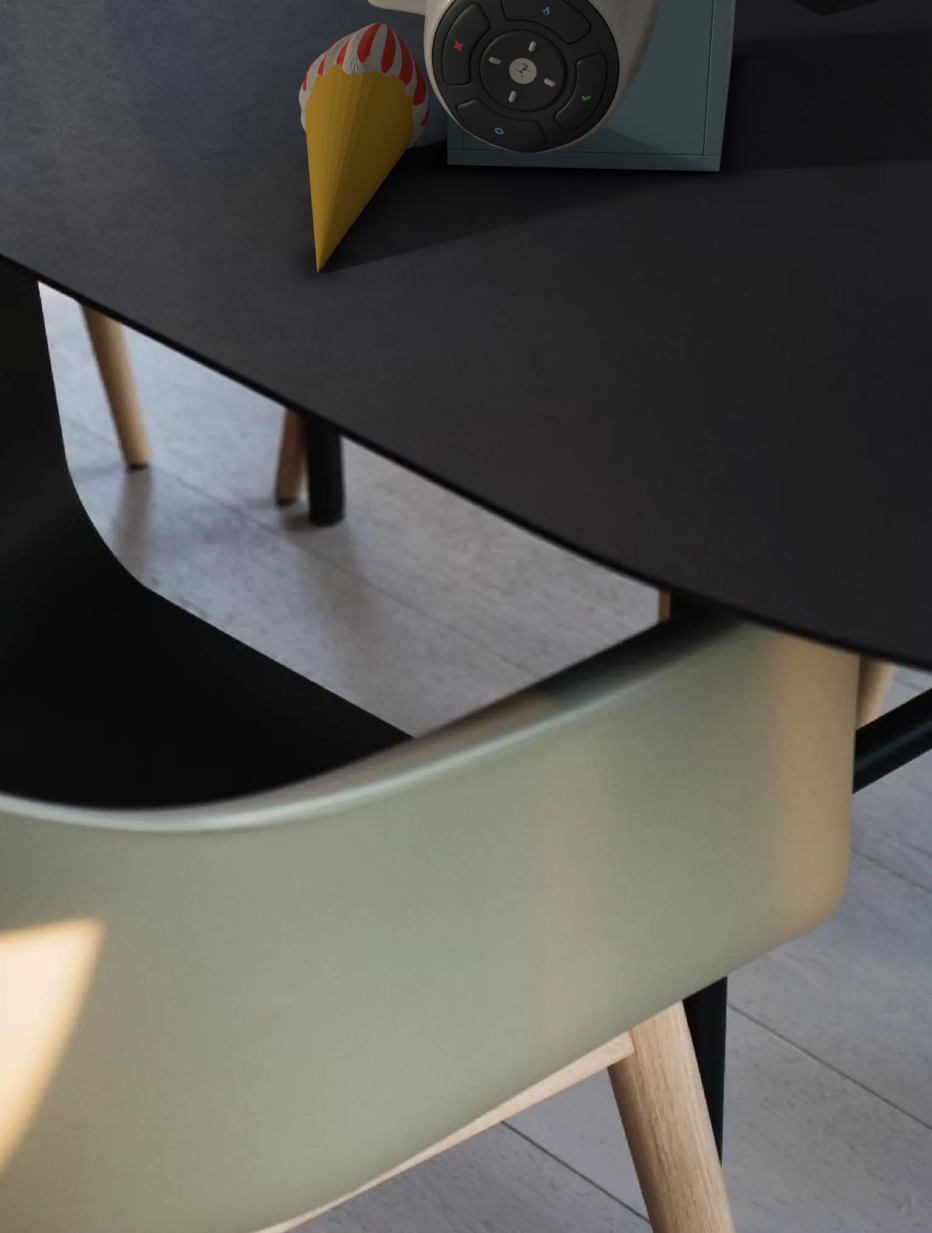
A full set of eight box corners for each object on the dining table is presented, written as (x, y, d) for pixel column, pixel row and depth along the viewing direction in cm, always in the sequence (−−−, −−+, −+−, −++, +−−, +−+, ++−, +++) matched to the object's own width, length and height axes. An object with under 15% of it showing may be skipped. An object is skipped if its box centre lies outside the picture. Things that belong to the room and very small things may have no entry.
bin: (731, 58, 120) (743, -111, 115) (719, 171, 109) (731, -11, 103) (485, 54, 122) (485, -113, 117) (447, 164, 111) (445, -15, 105)
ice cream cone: (305, 347, 106) (372, 98, 117) (409, 293, 102) (468, 41, 113) (222, 256, 102) (300, 9, 113) (327, 196, 98) (396, -53, 110)
